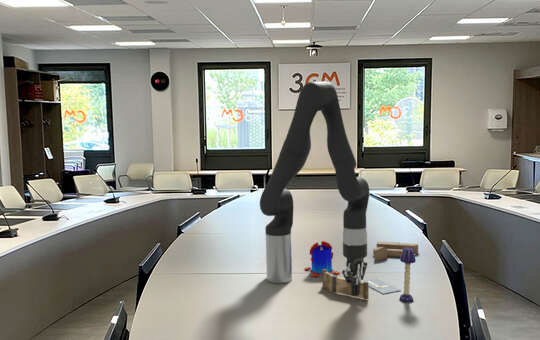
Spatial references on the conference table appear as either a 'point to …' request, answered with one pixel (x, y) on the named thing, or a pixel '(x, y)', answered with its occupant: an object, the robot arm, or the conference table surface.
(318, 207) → the conference table surface
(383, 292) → the card
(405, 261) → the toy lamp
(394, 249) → the wooden block set
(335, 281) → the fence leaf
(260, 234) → the conference table surface
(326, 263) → the fantasy tower
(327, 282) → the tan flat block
